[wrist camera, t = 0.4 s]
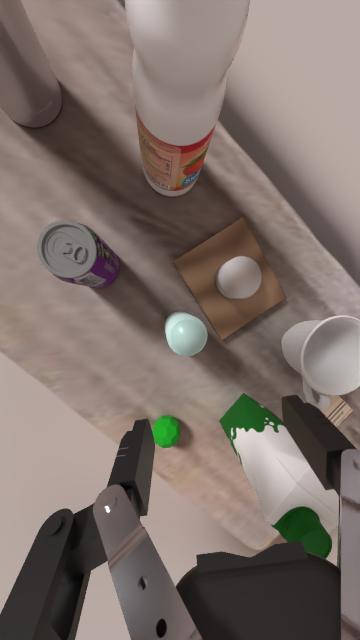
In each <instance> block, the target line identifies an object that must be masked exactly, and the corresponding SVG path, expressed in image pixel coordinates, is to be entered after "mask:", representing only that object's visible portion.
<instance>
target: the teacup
mask: <svg viewBox="0 0 360 640" xmlns="http://www.w3.org/2000/svg"><path fill="white" fill-rule="evenodd" d="M281 346H282V352H283V355H284V358H285V360H286V361H287V363H288V364H289V365H290V366H291V367H292V368H293V369H295V370H296V371H297V372H299V373H300V374H301V377H302V380H303V393H304V397H305V399H306V401H307V402H308V403H310V404H312V405H314V406H315V407H317V408H319V409H321V410H323V409H326V408H328V407H329V404H330V397H329V395H330V396H339V395H344V394H347V393H349V392H351V391H353V390H355V389H357V388H358V387H359V386H360V320H359V319H357V318H354V317H351V316H345V315H339V316H333V317H330V318H327V319H325V320H311V321H304V322H300V323H298V324H296V325H294V326H293V327H291V328H290V329H289V330H288V331H287V332H286V333H285V334H284V336H283V338H282V341H281ZM312 388H313V389H314V390H315V391H316V392H317V393H318V394H319V396H320V400H319V402H318V403H317V402H316V401H315V399H314V397H313V394H312Z"/></svg>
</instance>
